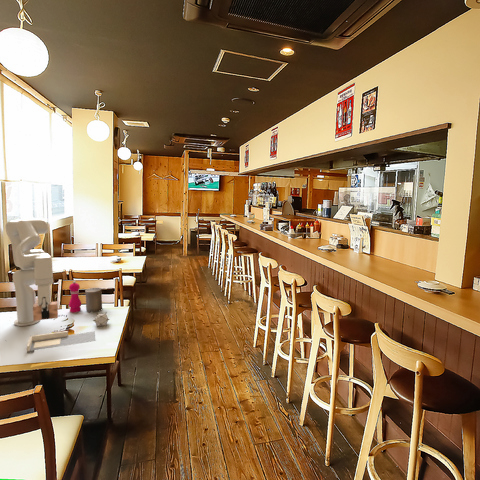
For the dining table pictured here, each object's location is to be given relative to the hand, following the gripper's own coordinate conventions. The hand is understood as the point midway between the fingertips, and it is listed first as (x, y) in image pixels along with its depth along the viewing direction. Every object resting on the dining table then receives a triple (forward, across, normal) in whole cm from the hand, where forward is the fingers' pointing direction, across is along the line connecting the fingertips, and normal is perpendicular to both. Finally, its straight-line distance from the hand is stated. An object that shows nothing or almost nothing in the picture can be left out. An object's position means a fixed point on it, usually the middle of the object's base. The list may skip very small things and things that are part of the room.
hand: (46, 316), depth 161 cm
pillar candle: (+15, -45, +23) cm, 53 cm away
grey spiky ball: (+16, -15, +26) cm, 34 cm away
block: (+1, 0, 0) cm, 1 cm away
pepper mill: (+15, -47, +12) cm, 51 cm away
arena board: (+16, -1, +7) cm, 17 cm away
